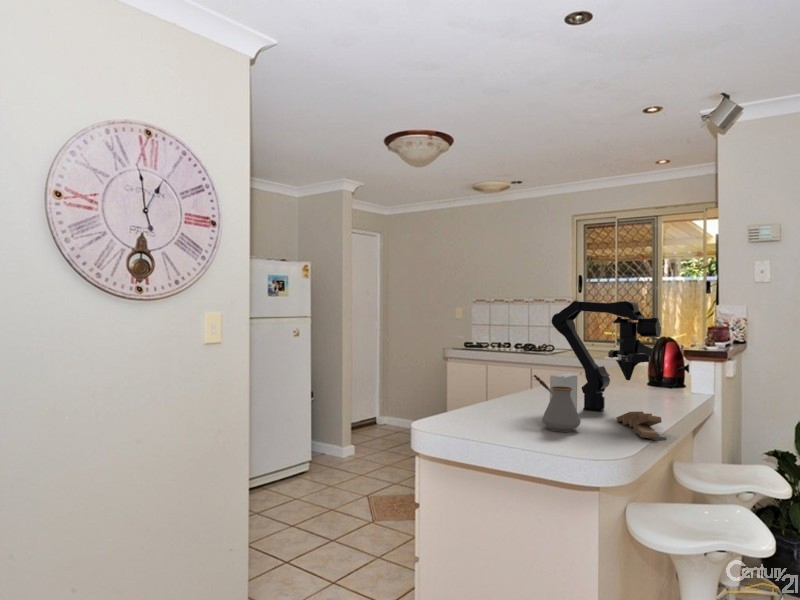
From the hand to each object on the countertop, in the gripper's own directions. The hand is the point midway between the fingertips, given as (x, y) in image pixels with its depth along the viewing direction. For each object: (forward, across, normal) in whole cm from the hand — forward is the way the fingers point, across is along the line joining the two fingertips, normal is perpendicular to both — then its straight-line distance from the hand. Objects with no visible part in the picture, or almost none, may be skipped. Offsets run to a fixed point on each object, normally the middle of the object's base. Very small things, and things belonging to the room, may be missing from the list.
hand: (628, 380), depth 192 cm
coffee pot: (+12, -17, +34) cm, 40 cm away
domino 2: (+11, -17, +9) cm, 22 cm away
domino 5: (+12, -25, +10) cm, 30 cm away
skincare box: (+12, -5, +26) cm, 29 cm away
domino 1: (+11, -12, +8) cm, 18 cm away
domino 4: (+11, -26, +10) cm, 30 cm away
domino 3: (+11, -22, +9) cm, 26 cm away
